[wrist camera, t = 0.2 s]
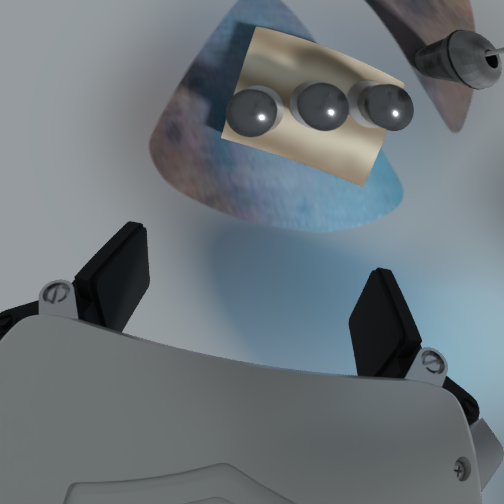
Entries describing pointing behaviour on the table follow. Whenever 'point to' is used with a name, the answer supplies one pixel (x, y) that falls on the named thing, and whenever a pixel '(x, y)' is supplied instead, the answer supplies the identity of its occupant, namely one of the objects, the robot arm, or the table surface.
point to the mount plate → (288, 119)
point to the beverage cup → (461, 60)
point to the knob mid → (323, 106)
